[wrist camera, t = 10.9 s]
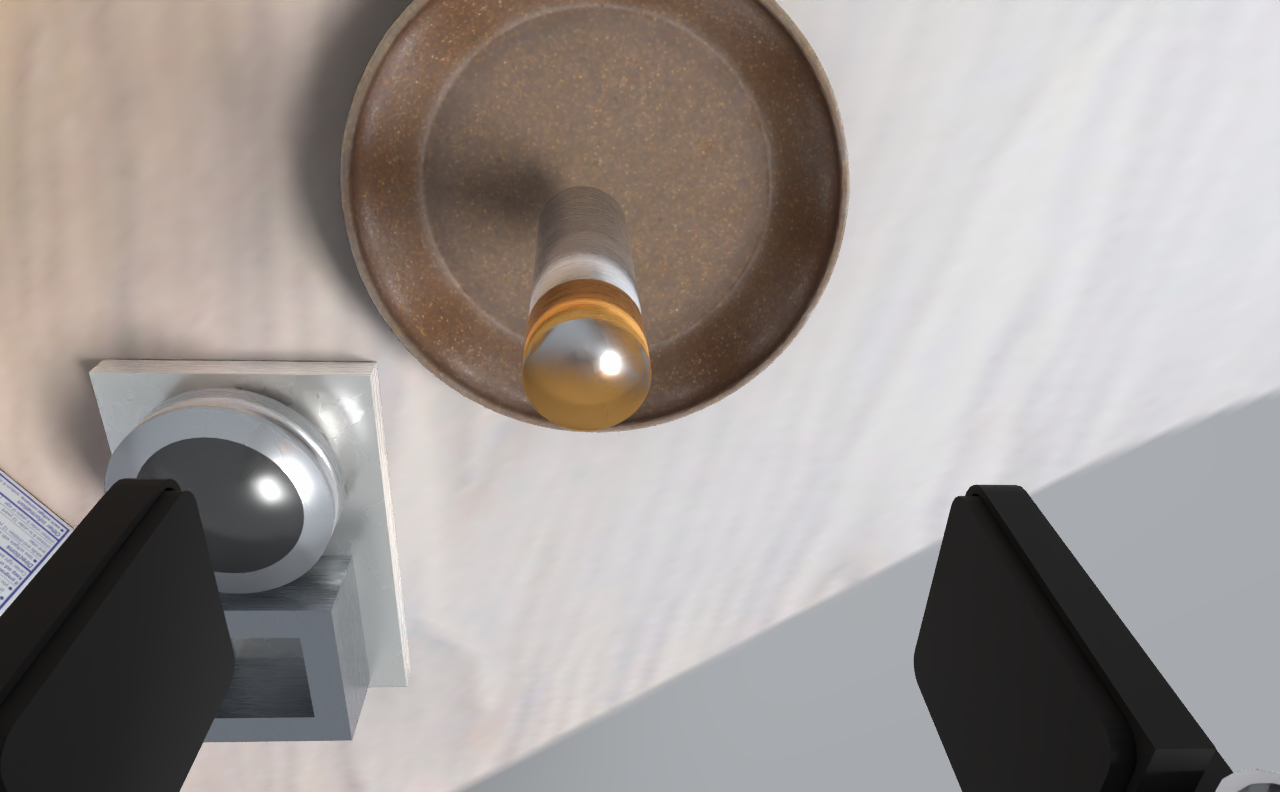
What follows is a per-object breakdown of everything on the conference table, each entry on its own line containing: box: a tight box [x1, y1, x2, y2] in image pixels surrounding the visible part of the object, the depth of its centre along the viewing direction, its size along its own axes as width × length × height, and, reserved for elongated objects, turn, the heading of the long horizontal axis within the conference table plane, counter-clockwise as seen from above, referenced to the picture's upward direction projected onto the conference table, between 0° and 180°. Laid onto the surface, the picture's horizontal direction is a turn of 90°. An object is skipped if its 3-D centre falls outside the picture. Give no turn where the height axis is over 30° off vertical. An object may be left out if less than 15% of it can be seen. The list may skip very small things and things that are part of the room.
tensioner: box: [89, 359, 411, 742], centre depth 31 cm, size 14×9×4 cm, turn 178°
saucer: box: [340, 0, 849, 432], centre depth 27 cm, size 15×15×3 cm
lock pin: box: [522, 186, 652, 431], centre depth 22 cm, size 3×3×9 cm
